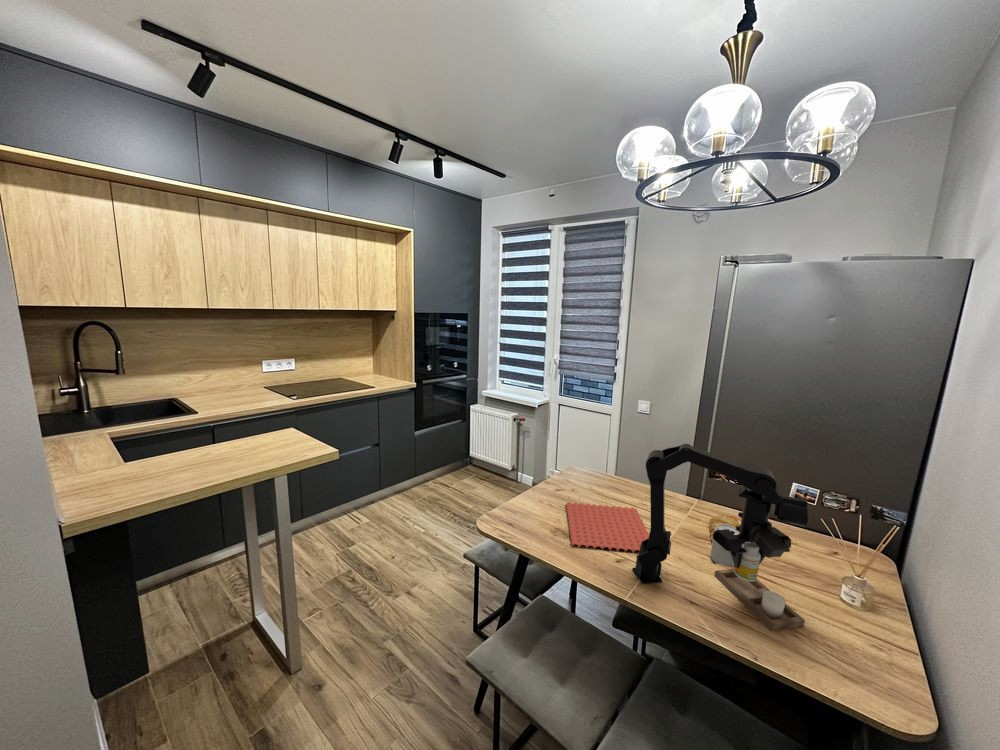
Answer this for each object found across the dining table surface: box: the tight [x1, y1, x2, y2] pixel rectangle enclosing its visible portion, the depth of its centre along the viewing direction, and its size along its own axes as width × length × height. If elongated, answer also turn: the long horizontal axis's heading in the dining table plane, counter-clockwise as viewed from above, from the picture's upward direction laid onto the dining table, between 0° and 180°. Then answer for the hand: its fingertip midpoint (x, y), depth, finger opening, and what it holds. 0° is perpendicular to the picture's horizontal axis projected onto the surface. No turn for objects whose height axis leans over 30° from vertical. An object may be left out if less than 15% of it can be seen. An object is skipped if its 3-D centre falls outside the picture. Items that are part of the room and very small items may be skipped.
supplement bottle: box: [733, 543, 761, 582], centre depth 103 cm, size 5×5×10 cm
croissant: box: [708, 514, 741, 542], centre depth 140 cm, size 21×10×8 cm, turn 133°
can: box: [709, 524, 739, 567], centre depth 124 cm, size 8×8×12 cm
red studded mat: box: [565, 501, 649, 554], centre depth 142 cm, size 28×28×2 cm
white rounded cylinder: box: [760, 590, 786, 620], centre depth 102 cm, size 5×5×5 cm
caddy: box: [714, 568, 806, 632], centre depth 108 cm, size 10×20×3 cm, turn 10°
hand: (746, 566), depth 104 cm, fingers closed on supplement bottle, 5 cm apart
